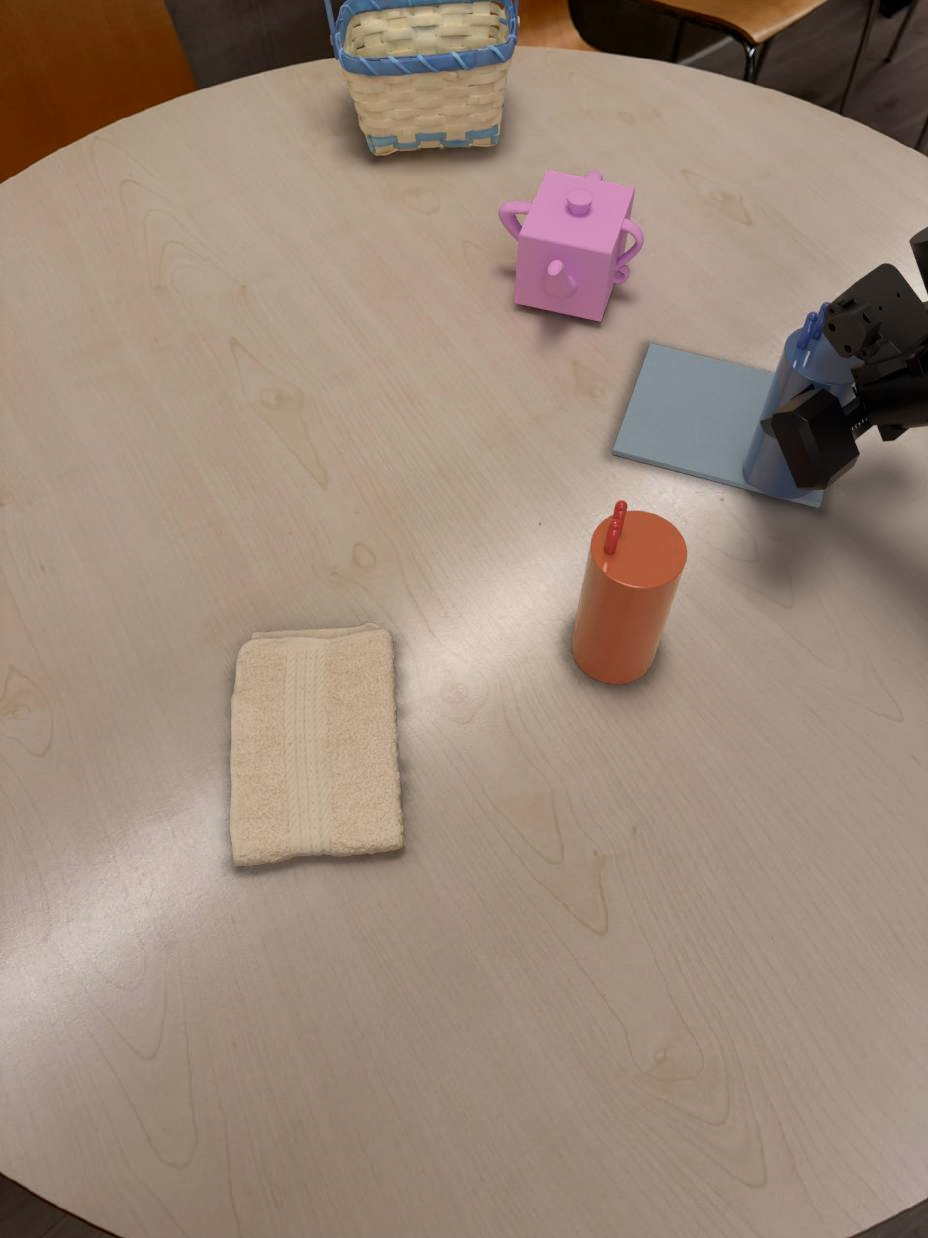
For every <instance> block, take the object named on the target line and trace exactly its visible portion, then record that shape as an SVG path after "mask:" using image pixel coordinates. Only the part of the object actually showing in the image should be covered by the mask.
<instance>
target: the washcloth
mask: <svg viewBox="0 0 928 1238" xmlns="http://www.w3.org/2000/svg"><path fill="white" fill-rule="evenodd" d="M394 643H395V641H394V636H393V633H392V631H391V630H390V629H388V628H382V627H381V626H379V625H378V624H376V623H374V622H372V621H371V622H370V621H368V622H367V621H366V623H364V624H361V625H359V626H350V627H341V628H338V627H337V628H335V627H334V628H332V627H330V628H316V629H315V628H314V629H286V630H274V631H261V632H260V631H254V632H252V633H251V636H250V639H248V640H247V641H246V642H245V643H243V644H242V646H241V647H240V648H239V650H238V654H237V657H236V661H235V662H236V663H235V674H234V675H235V676H234V684H233V692H232V694H231V697H230V759H229V770H230V772H229V775H230V801H229V835H230V836H229V838H230V841H231V857H232V861H233V866H235V867H244V866H245V867H251V866H252V867H253V866H261V865H266V864H275V863H280V862H284V861H287V860H288V861H290V860H292V858H297V857H312V856H314V857H319V856H323V855H328V856H332V857H350V856H354V855H357V856H360V855H365V854H369V855H374V854H376V853H387V852H391V851H393V852H394V851H398V850H401V849H403V847H407V843H406V839H405V836H404V833H405V831H404V817H405V813H404V811H403V809H402V808H403V807H402V800H401V794H402V787H401V781H402V779H401V772H400V771H401V770H400V758H399V757H400V755H399V749H400V748H399V747H400V746H399V742H398V741H399V732H398V728H397V726H398V722H397V721H398V718H397V715H396V713H397V710H398V709H397V701H396V695H395V694H396V688H397V686H396V681H395V677H396V674H395V665H394V664H395V649H394V647H395V646H394Z"/></svg>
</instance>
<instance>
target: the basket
mask: <svg viewBox="0 0 928 1238" xmlns="http://www.w3.org/2000/svg"><path fill="white" fill-rule="evenodd" d="M323 1H324V5H325V10H326V16H327V20H328V21H327V22H328V26H329V31H330V35H329V36H330V37H329V39H330V45H331V46H332V49H333V54H334V58H335V59H334V60H336V61H339V64H340V68H341V72H342V74H343V77H344V78H345V79H346V85H347V88H348V89H347V90H348V92H349V95H350V97H351V99H352V100H353V105H354V109H355V112H356V113H357V118H358V125H359V128H360V130H361V131H362V133H363V134H364V137H365V140H366V144H367V147H368V149H369V151H370V153H372V154H373V155H375V156H376V157H377V156H388V155H391V154H393V153H396V152H412V151H418V149H431V148H434V149H435V148H442V147H445V148H465V147H466V146H469V147H471V146H472V147H483V148H484V147H494V146H497V145H498V144H499V143H500V138H501V127H502V119H503V109H504V106H505V105H504V102H505V87H506V85H507V83H508V74H509V68H511V66H512V61H513V55H514V53H515V48H516V46H517V44H518V39H519V36H518V35H519V33H518V31H519V30H518V28H520V26H521V19H520V16H519V0H513V1H512V0H346V1H344V2H343V4H342V5H341V6H340V7H339V12H338V15H337V19H336V21H335V19H334V12H333V9H332V4H331V0H323ZM495 2H496V3H495ZM497 2H498V3H499V4H501V5H502V6H503V8H502V9H501V7H500V6H499V4H498V3H497ZM491 13H493V14H491ZM496 27H498V29H497V28H496ZM363 46H364V47H363Z"/></svg>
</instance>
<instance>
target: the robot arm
mask: <svg viewBox="0 0 928 1238" xmlns="http://www.w3.org/2000/svg"><path fill="white" fill-rule="evenodd" d="M908 242H909V245H910V249H911V251H912V255H913V257H914V259H915V263H916V266H917V269H918V272H919V274H920V278H921V280H922V283H923V286H924V289H925V292H926V295H927V296H928V226H926V227H924V228H923V229H921V230H919V231H918V232H917V233H915V234H914V235H913V236H911V238H910V239H909V240H908ZM824 317H825V320H826V322H825V323H824V324H823V334H824V336H825V337H826V338H827V340H828V341H829V342H830V344H831V345H832V346H833V348H834V349H835V350H836V352H837V353H838V354H839V355H840V356H841V357H843V358H847V359H848V358H850V357H852V356H853V355H855V356H856V357H857V358H858V359H860V360H863V361H864V362H861V363H857V364H856V365H854V366H853V367H852V368H850V371H851V373H852V376H853V378H854V381H855V382H854V383H853V384H852V386H851V387H852V390H853V393H854V395H855V396H856V397H855V398H854V399H853V400H852V401H850V402H849V403H848V404H846V405H845V406H844V407H842V406H841V404H840V401H839V399H838V398H837V397H836V396H835V395H833V394H832V393H830V392H829V391H827V390H826V389H824V388H819V389H815V388H814V385H813V383H812V384H811V385H809V386H808V387H806V388H805V389H804V390H802V391H801V392H800V393H798V394H797V395H796V396H794V397H793V398H792V399H791V400H790V401H789V402H788V403H787V404H785V405H784V406H783V407H781V408H780V409H779V410H777V411H776V412H775V413H773V415H771V416H768V417H766V418H763V419H762V420H761V421H760V424H761V427H762V429H763V431H764V433H765V434H767V435H769V436H771V437H773V438H774V439H776V440H777V441H778V444H779V446H780V448H781V451H782V453H783V456H784V458H785V460H786V463H787V465H788V468H789V470H790V473H791V475H792V477H793V480H794V482H795V485H796V487H797V488H798V489H801V490H804V491H813V490H824V491H825V490H826V489H828V488H829V487H830V486H832V484H835V482H836V481H838V480H839V479H840V478H841V477H843V476H844V475H845V474H846V473H847V472H849V471H850V470H851V469H852V468H854V467H855V465H856V463H857V461H858V459H859V457H860V456H861V453H860V450H859V448H858V446H857V442H856V441H857V440H858V439H859V438H861V436H863V435H864V434H866V433H867V432H868V431H870V429H871V428H873V427H875V426H876V427H877V430H878V433H879V435H880V438H881V441H882V442H894V441H896V440H897V439H898V438H899V437H901V436H902V435H904V434H905V433H906V432H907V431H909V430H910V429H915V428H922V427H923V428H924V427H928V300H926V301H922V299H921V298H920V297H919V295H918V294H917V293H916V292H915V290H914V289H913V287H912V286H911V285H910V284H909V282H908V281H907V279H906V278H905V276H904V275H903V274H902V273H901V272H900V270H899V268H897V267H896V266H895V265H893V264H892V263H889V262H884V263H881V264H879V265H878V266H877V267H875V268H873V269H872V270H871V271H869V272H868V273H866V274H865V275H864V276H862V277H861V278H859V279H858V280H857V281H856V282H854V283H853V284H852V285H850V286H849V287H848V288H847V289H845V290H844V291H843V292H842V293H840V294H839V295H838V296H837V297H836V298H835V299H834V300H832V301H831V302H830V304H829V305H828V306H826V308H825V310H824Z"/></svg>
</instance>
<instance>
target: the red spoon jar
mask: <svg viewBox="0 0 928 1238" xmlns="http://www.w3.org/2000/svg"><path fill="white" fill-rule="evenodd" d="M687 559H688V548H687V544H686V541H685V538H684V536H683V535H682V533H681V532H680V530H679V529H678V528H677V527H676V526H675V525H674V524H673V523H671V521H669V520H668V519H666V518H665V517H663V516H660V515H658V514H656V513H653V512H649V511H645V510H628V503H627V501H626V500H623V499H620V500H618V501H616V502H615V504H614V508H613V514H612V515H610V516H608V517H606V518H604V520H602V521H601V522H600V523H599V524H598V525H597V526H596V528H595V529H594V531H593V533H592V535H591V540H590V544H589V548H588V554H587V559H586V564H585V569H584V574H583V580H582V584H581V589H580V590H581V591H580V596H579V601H578V606H577V611H576V615H575V622H574V626H573V632H572V637H571V644H570V645H571V646H570V647H571V653H572V656H573V659H574V661H575V662H576V664H577V666H578V667H579V668H580V669H581V670H582V672H584V673H585V674H586V675H588V677H590V678H592V679H593V680H596V681H598V682H601V683H605V684H609V685H622V684H623V685H624V684H627V683H628V684H629V683H631V682H634V681H636V680H638V679H640V678H642V677H643V676H644V675H645V674H646V673H647V672H648V671H649V670H650V668H651V666H652V665H653V663H654V660H655V657H656V653H657V651H658V648H659V645H660V642H661V639H662V635H663V633H664V630H665V627H666V624H667V620H668V617H669V615H670V612H671V609H672V606H673V602H674V600H675V596H676V594H677V590H678V587H679V585H680V582H681V579H682V576H683V573H684V570H685V566H686V563H687V561H688V560H687Z"/></svg>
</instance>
